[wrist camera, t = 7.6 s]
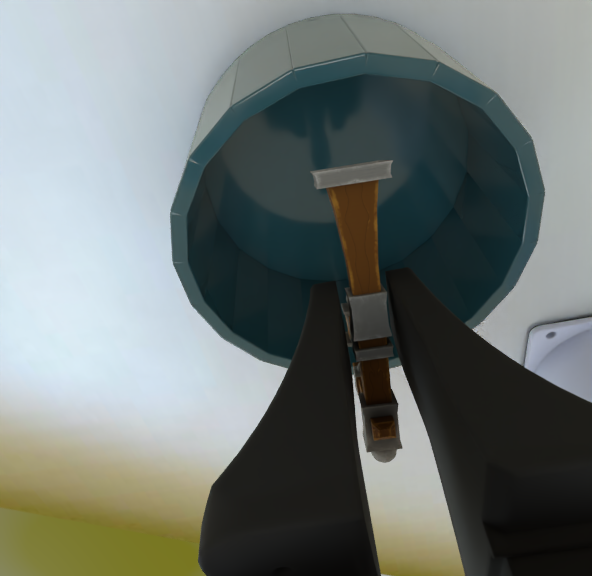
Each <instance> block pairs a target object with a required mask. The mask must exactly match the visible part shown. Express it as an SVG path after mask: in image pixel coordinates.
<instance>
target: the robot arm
mask: <svg viewBox="0 0 592 576" xmlns="http://www.w3.org/2000/svg"><path fill="white" fill-rule="evenodd" d="M385 274H386V284H387V294H388V304H389V314H390V325H391V329H392V333H393V337H394V341H395V345H396V349H397V353H398V356H399V359H400V362H401V365H402V367H403V370H404V373H405V375H406V378H407V380H408V383H409V386H410V388H411V391H412V393H413V396H414V399H415V401H416V404H417V406H418V409H419V411H420V414H421V417H422V419H423V422H424V424H425V427H426V430H427V433H428V436H429V439H430V443H431V446H432V450H433V453H434V457H435V461H436V464H437V468H438V472H439V475H440V479H441V483H442V486H443V490H444V494H445V498H446V501H447V505H448V509H449V513H450V517H451V521H452V524H453V528H454V532H455V536H456V540H457V544H458V548H459V552H460V556H461V560H462V564H463V568H464V572H465V576H592V317H588V318H582V319H576V320H570V321H564V322H558V323H552V324H546V325H541V326H537V327H535V328H533V329H532V330H531V331H530V333H529V339H528V345H527V352H526V358H525V365H524V367H523V366H522V365H520V364H519V363H517V362H516V361H514V360H512V359H511V358H509V357H508V356H506V355H505V354H503V353H502V352H501V351H499V350H498V349H496V348H495V347H493V346H492V345H491V344H489V343H488V342H487V341H485V340H484V339H483V338H482V337H480V336H479V335H478V334H477V333H475V332H474V331H473V330H472V329H470V328H469V327H468V326H467V325H466V324H464V323H463V322H462V321H461V320H460V319H459V318H458V317H456V316H455V315H454V314H453V313H452V312H451V311H450V310H449V309H448V308H447V307H446V306H445V305H444V304H443V303H442V302H441V301H440V300H439V299H438V298H437V297H436V296H435V295H434V294H433V293H432V292H431V291H430V290H429V289H428V288H427V287H426V286H425V285H424V284H423V282H422V281H421V280H420V279H419V278H418V277H417V275H416V274H415V273H414V272H413V271H412V270H411V269H410V268H408V267H405V268H400V269H395V270H389V271H385ZM549 332H550V333H549ZM198 563H199V565H200V567H201V569H202V571H203V572H204V573H205V574H206V576H381V573H380V568H379V562H378V557H377V551H376V545H375V540H374V534H373V528H372V523H371V517H370V511H369V506H368V500H367V494H366V489H365V483H364V477H363V472H362V466H361V460H360V454H359V448H358V439H357V429H356V417H355V404H354V392H353V380H352V368H351V361H350V356H349V350H348V345H347V339H346V334H345V328H344V323H343V318H342V312H341V307H340V301H339V296H338V291H337V285H336V280H335V281H330V282H324V283H319V284H314V285H313V286H312V287H311V288H310V299H309V305H308V310H307V314H306V319H305V322H304V326H303V329H302V332H301V336H300V339H299V342H298V345H297V347H296V350H295V353H294V355H293V358H292V360H291V363H290V366H289V368H288V370H287V372H286V375H285V377H284V379H283V381H282V383H281V385H280V387H279V389H278V391H277V393H276V395H275V397H274V399H273V400H272V402H271V404H270V406H269V408H268V409H267V411H266V413H265V414H264V416H263V418H262V419H261V421H260V423H259V424H258V426H257V427H256V429H255V430H254V431H253V433H252V434H251V436H250V437H249V439H248V440H247V442H246V443H245V445H244V446H243V447H242V449H241V450H240V452H239V453H238V454H237V456H236V457H235V458H234V459H233V461H232V462H231V463H230V464H229V466H228V467H227V468H226V469H225V470H224V472H223V473H222V474H221V475H220V477H219V478H218V479H217V480H216V481H215V483H214V484H213V485H212V487H211V490H210V494H209V497H208V500H207V504H206V508H205V512H204V517H203V521H202V526H201V535H200V547H199V557H198Z"/></svg>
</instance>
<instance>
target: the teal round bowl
mask: <svg viewBox="0 0 592 576" xmlns="http://www.w3.org/2000/svg"><path fill="white" fill-rule="evenodd" d="M381 160H393V162H392V164H391V175H392V178H386V179H379V181H378V199H377V232H378V266H379V276H380V283H381V284H382V286H383V287H384V289H385V290H386V291H387V284H386V274H385V271H389V270H395V269H400V268H405V267H408V268H410V269H411V270H412V271H413V272H414V273H415V274H416V275H417V277H418V278H419V279H420V280H421V281H422V282H423V284H424V285H425V286H426V287H427V288H428V289H429V290H430V291H431V292H432V293H433V294H434V295H435V296H436V297H437V298H438V299H439V300H440V301H441V302H442V303H443V304H444V305H445V306H446V307H447V308H448V309H449V310H450V311H451V312H452V313H453V314H454V315H455V316H456V317H458V318H459V319H460V320H461V321H462V322H463V323H464V324H466V325H467V326H468V327H469V328H470V329H473V328H474V327H476V326H477V325H479V324H480V322H482V321H483V320H484V319H485V318H486V317H487V316H488V315H489V314H490V313H491V312H492V311H493V310H494V309H495V307H496V306H497V305H498V304H499V303H500V302H501V301H502V300H503V299H504V298H505V297H506V296H507V295H508V293H509V292H510V291H511V290H512V289H513V288H514V286H515V285H516V283H517V281H518V279H519V277H520V276H521V274H522V272H523V270H524V268H525V266H526V264H527V262H528V260H529V258H530V256H531V254H532V252H533V250H534V248H535V246H536V244H537V241H538V236H539V230H540V223H541V216H542V209H543V202H544V196H545V192H544V191H545V188H544V184H543V180H542V176H541V172H540V168H539V164H538V159H537V155H536V151H535V147H534V143H533V140H532V138H531V136H530V135H529V133H528V132H527V131H526V130H525V128H524V127H523V126H522V124H521V123H520V122H519V121H518V119H517V118H516V117H515V115H514V114H513V113H512V111H511V110H510V109H509V108H508V106H507V105H506V104H505V102H504V101H503V100H502V99H501V97H500V96H499V95H498V94H497V93H496V92H495V91H494V90H493V89H491V88H490V87H489V86H487V85H486V84H485V83H484V82H482V81H481V80H480V79H479V78H477V77H476V76H475V75H473V74H472V73H471V72H470V71H468V70H467V69H466V68H465V67H463V66H462V65H461V64H459V63H458V62H457V61H456V60H454V59H453V58H452V57H451V56H449V55H448V54H447V53H446V52H444V51H443V50H442V49H440V48H439V47H438V46H437V45H435V44H433V43H431V42H429V41H428V40H426V39H424V38H422V37H421V36H419V35H418V34H417V33H415V32H413V31H411V30H409V29H407V28H405V27H403V26H401V25H399V24H397V23H395V22H392V21H387V20H384V19H381V18H378V17H372V16H365V15H358V14H331V15H324V16H318V17H311V18H308V19H305V20H302V21H298V22H295V23H292V24H289V25H287V26H285V27H283V28H281V29H279V30H276V31H274V32H272V33H270V34H269V35H267V36H265V37H264V38H262V39H261V40H259V41H258V42H256V43H255V44H253V45H252V46H251V47H250V48H248V49H247V50H246V51H245V52H244V53H243V54H242V55H241V56H239V57H238V58H237V59H236V60H235V61H234V62H233V63H232V65H231V66H230V67H229V68H228V69H227V71H226V72H225V73H224V74H223V75H222V77H221V78H220V80H219V81H218V83H217V84H216V86H215V88H214V89H213V91H212V92H211V93H210V95H209V96H208V98H207V100H206V103H205V106H204V109H203V112H202V115H201V118H200V121H199V124H198V127H197V130H196V133H195V136H194V139H193V142H192V145H191V148H190V151H189V154H188V157H187V160H186V164H185V167H184V170H183V173H182V176H181V179H180V182H179V185H178V188H177V191H176V195H175V198H174V201H173V204H172V207H171V212H170V223H171V244H172V261H173V265H174V267H175V269H176V272H177V274H178V276H179V278H180V281H181V283H182V285H183V287H184V290H185V292H186V294H187V296H188V299H189V301H190V303H191V305H192V307H193V308H194V309H195V310H196V311H197V312H198V313H199V314H200V315H201V316H202V318H203V319H204V320H205V321H206V322H207V323H208V324H209V325H210V326H211V327H212V328H213V329H214V330H215V331H216V332H217V334H218V335H219V336H220V337H221V338H223V339H224V340H226V341H227V342H229V343H231V344H233V345H234V346H236V347H238V348H240V349H241V350H243V351H245V352H246V353H248V354H250V355H252V356H253V357H255V358H257V359H259V360H262V361H263V362H267V363H270V364H274V365H278V366H281V367H285V368H289V366H290V363H291V360H292V358H293V355H294V353H295V350H296V347H297V345H298V342H299V339H300V336H301V332H302V329H303V326H304V322H305V319H306V314H307V310H308V305H309V299H310V288H311V287H312V286H313V285H314V284H319V283H324V282H330V281H335V280H336V285H337V291H338V296H339V301H340V307H341V312H342V318H343V323H344V328H345V332H348V327H347V322H346V317H345V315H344V313H343V310H342V306H341V304H342V303H347V301H346V295H347V294H346V291H345V288H349V287H350V286H349V280H348V274H347V267H346V261H345V257H344V253H343V249H342V245H341V241H340V236H339V232H338V228H337V224H336V220H335V216H334V212H333V208H332V205H331V202H330V199H329V196H328V193H327V190H326V188H322V189H316V187H315V186H314V178H313V175H312V173H311V172H310V171H316V170H322V169H329V168H335V167H341V166H348V165H354V164H360V163H367V162H373V161H381ZM386 305H387V313H388V322H389V327H390V330H391V333H392V329H391V325H390V314H389V304H388V294H387V300H386ZM389 339H390V341H391V342H392V344H393V346H394V347H393V355H394V356H393V357H388V360H389V368H395V367H398V366H401V362H400V359H399V356H398V353H397V349H396V345H395V341H394V337H393V333H392V336H390V337H389ZM348 350H349V356H350V361H351V368H352V375H353V374H354V371H353V363H354V362H356V359H355V356H354V352H353V349H352V347H348ZM358 362H359V361H358Z"/></svg>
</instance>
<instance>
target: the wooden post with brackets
mask: <svg viewBox="0 0 592 576" xmlns="http://www.w3.org/2000/svg"><path fill="white" fill-rule="evenodd" d="M392 162H393V160H381V161H373V162H367V163H360V164H354V165H348V166H341V167H335V168H329V169H322V170H316V171H310V172H311V173H312V175H313V178H314V186H315V187H316V189H322V188H326V190H327V193H328V196H329V199H330V202H331V205H332V208H333V212H334V216H335V220H336V224H337V228H338V232H339V236H340V241H341V245H342V249H343V253H344V257H345V261H346V267H347V274H348V280H349V286H350V287H349V288H345V291H346V294H347V295H346V301H347V303H342V304H341V306H342V310H343V313H344V315H345V317H346V322H347V327H348V332H345V334H346V339H347V345H348V347H352V349H353V352H354V356H355V359H356V362H354V363H353V371H354V378H355V386H356V390H357V393H358V395H359V399H360V403H361V411H362V419H363V437H364V442H365V446H366V450H367V452H371V453H372V455H373V456H374V458H375V459H376V460H377V461H380V462H383V463H386V462H390V461H391V460H392V459H394V457H395V456H396V451H397V449H402V445H401V441H400V435H399V425H398V415H397V411H398V403H397V400H396V398H395V396H394V393H393V391H392V389H391V385H390V373H389V360H388V357H393V356H394V355H393V347H394V346H393V344H392V342H391V341H390V339H389V337H390V336H392V333H391V330H390V327H389V322H388V313H387V305H386V300H387V291H386V290H385V289H384V287H383V286H382V284H381V283H380V276H379V266H378V232H377V199H378V181H379V179H386V178H392V175H391V164H392ZM358 361H359V362H358Z"/></svg>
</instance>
